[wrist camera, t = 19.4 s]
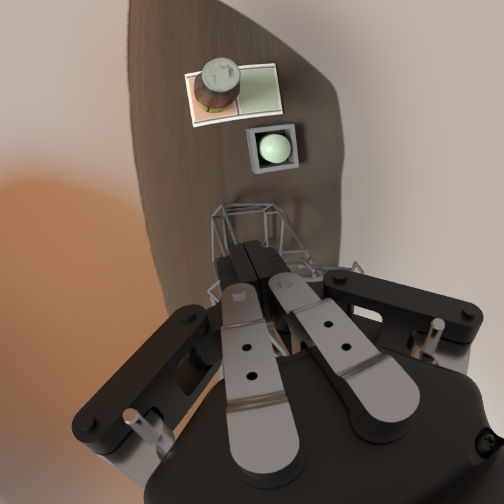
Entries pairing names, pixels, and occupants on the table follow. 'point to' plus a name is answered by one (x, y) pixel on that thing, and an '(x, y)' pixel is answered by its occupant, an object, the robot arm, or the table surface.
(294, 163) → the button housing
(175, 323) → the robot arm
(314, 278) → the geometric lantern
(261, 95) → the colouring card
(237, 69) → the sauce bottle
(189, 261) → the table surface
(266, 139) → the button
